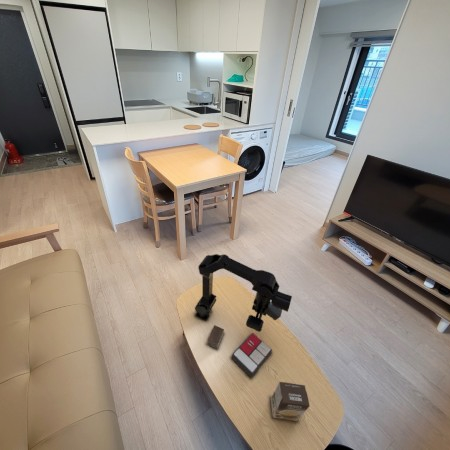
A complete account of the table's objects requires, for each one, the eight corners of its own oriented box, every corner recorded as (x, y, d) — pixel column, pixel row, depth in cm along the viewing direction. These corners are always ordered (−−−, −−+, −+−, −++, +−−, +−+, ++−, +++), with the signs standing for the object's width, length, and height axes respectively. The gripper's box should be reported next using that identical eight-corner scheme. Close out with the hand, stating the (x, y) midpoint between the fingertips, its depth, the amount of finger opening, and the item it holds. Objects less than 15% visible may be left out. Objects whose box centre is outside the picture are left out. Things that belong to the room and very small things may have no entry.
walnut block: (207, 344, 108) (207, 339, 105) (214, 329, 114) (214, 324, 111) (217, 349, 106) (217, 344, 104) (223, 334, 112) (224, 329, 110)
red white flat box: (272, 348, 103) (252, 373, 94) (270, 353, 106) (251, 378, 97) (252, 331, 110) (232, 353, 101) (251, 336, 112) (231, 358, 103)
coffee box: (272, 418, 86) (281, 403, 77) (270, 398, 91) (278, 381, 82) (297, 421, 85) (310, 406, 76) (294, 400, 91) (305, 384, 81)
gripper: (277, 326, 84) (269, 347, 93) (286, 289, 98) (279, 310, 107) (248, 313, 88) (243, 335, 97) (261, 279, 102) (255, 301, 111)
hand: (256, 320), depth 103 cm, fingers open, 9 cm apart
